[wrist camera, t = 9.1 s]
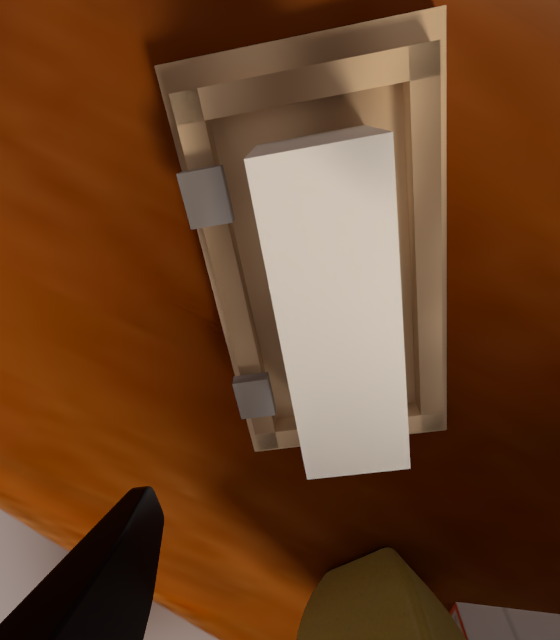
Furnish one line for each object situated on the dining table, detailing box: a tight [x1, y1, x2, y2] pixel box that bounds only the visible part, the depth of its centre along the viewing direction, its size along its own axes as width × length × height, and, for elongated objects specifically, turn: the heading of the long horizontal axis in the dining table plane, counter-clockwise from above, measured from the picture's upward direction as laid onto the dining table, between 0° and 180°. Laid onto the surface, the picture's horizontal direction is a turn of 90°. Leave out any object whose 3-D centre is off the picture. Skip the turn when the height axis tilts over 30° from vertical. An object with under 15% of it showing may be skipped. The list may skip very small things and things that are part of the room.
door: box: [244, 125, 411, 480], centre depth 16 cm, size 4×12×5 cm, turn 10°
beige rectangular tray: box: [154, 5, 447, 452], centre depth 18 cm, size 10×18×3 cm, turn 10°
